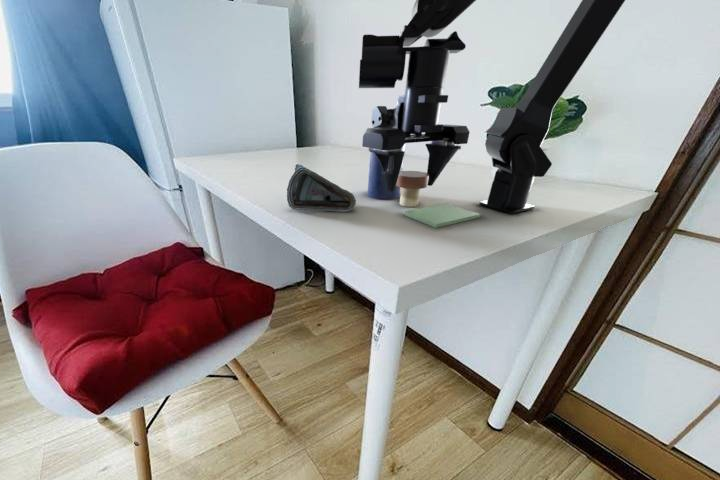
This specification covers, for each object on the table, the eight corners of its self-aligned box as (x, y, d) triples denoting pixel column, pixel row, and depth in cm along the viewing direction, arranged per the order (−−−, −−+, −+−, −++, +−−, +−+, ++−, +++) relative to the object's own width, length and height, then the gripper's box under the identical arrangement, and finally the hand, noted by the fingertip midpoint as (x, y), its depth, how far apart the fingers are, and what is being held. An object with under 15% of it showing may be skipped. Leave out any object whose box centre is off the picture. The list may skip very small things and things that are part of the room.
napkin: (445, 206, 55) (446, 203, 55) (479, 217, 50) (480, 214, 49) (403, 214, 51) (403, 211, 51) (435, 228, 46) (436, 224, 45)
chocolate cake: (359, 202, 59) (317, 154, 58) (360, 202, 52) (312, 147, 51) (322, 235, 60) (281, 190, 60) (319, 239, 54) (272, 188, 53)
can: (385, 189, 66) (391, 134, 61) (406, 196, 61) (414, 137, 56) (360, 193, 63) (364, 135, 58) (380, 201, 58) (386, 139, 53)
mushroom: (409, 198, 60) (413, 169, 57) (430, 206, 55) (436, 175, 53) (386, 202, 57) (389, 172, 55) (407, 210, 53) (411, 178, 50)
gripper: (429, 90, 58) (416, 175, 65) (345, 89, 50) (342, 185, 57) (481, 88, 49) (460, 185, 56) (390, 85, 41) (379, 199, 49)
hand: (410, 188), depth 55 cm, fingers open, 9 cm apart
